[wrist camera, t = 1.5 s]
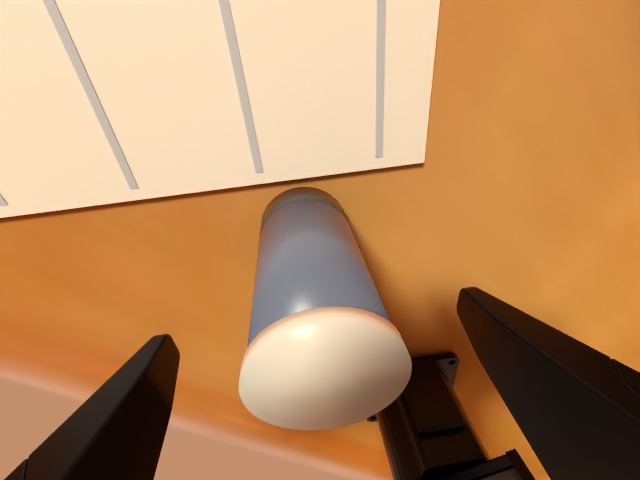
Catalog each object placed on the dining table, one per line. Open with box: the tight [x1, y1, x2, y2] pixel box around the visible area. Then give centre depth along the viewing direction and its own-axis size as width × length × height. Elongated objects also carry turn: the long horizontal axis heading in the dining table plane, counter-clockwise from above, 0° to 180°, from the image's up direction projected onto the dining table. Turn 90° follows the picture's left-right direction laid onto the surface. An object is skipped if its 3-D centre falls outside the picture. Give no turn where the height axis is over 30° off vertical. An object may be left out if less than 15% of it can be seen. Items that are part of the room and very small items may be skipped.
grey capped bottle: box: [239, 187, 412, 430], centre depth 10 cm, size 4×4×8 cm
